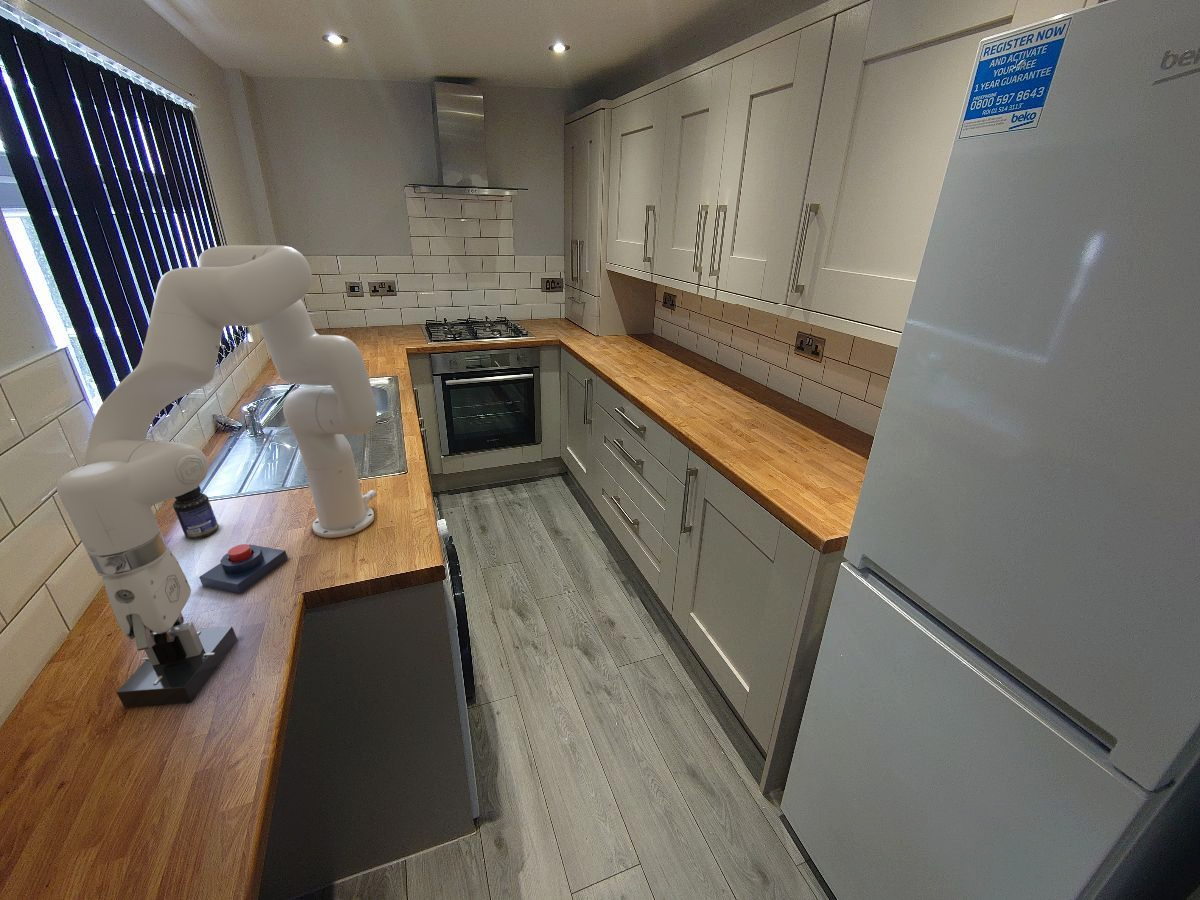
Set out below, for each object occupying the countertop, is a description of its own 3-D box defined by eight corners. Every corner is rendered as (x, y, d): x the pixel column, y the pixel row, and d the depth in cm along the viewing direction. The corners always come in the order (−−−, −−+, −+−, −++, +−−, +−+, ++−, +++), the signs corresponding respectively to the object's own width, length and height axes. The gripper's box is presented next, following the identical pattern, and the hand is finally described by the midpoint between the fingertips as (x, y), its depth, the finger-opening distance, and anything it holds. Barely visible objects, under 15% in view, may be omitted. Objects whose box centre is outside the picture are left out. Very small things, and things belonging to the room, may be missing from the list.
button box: (252, 553, 108) (246, 536, 106) (288, 559, 105) (283, 542, 104) (202, 586, 98) (195, 569, 96) (240, 594, 96) (234, 576, 94)
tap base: (176, 644, 84) (169, 629, 83) (241, 640, 85) (236, 625, 84) (119, 708, 73) (110, 691, 72) (195, 702, 74) (188, 686, 73)
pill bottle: (226, 527, 117) (210, 483, 112) (199, 542, 111) (181, 497, 107) (205, 523, 119) (189, 480, 114) (178, 538, 113) (160, 493, 109)
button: (242, 550, 102) (239, 542, 101) (256, 553, 101) (254, 545, 101) (225, 561, 99) (222, 553, 98) (240, 563, 98) (238, 556, 97)
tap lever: (203, 647, 80) (192, 620, 77) (200, 655, 78) (188, 627, 76) (156, 658, 78) (143, 630, 76) (152, 665, 76) (138, 638, 74)
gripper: (137, 579, 65) (187, 688, 72) (184, 517, 78) (222, 614, 86) (62, 593, 62) (121, 704, 70) (123, 527, 76) (167, 625, 84)
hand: (176, 654), depth 78 cm, fingers closed on tap lever
